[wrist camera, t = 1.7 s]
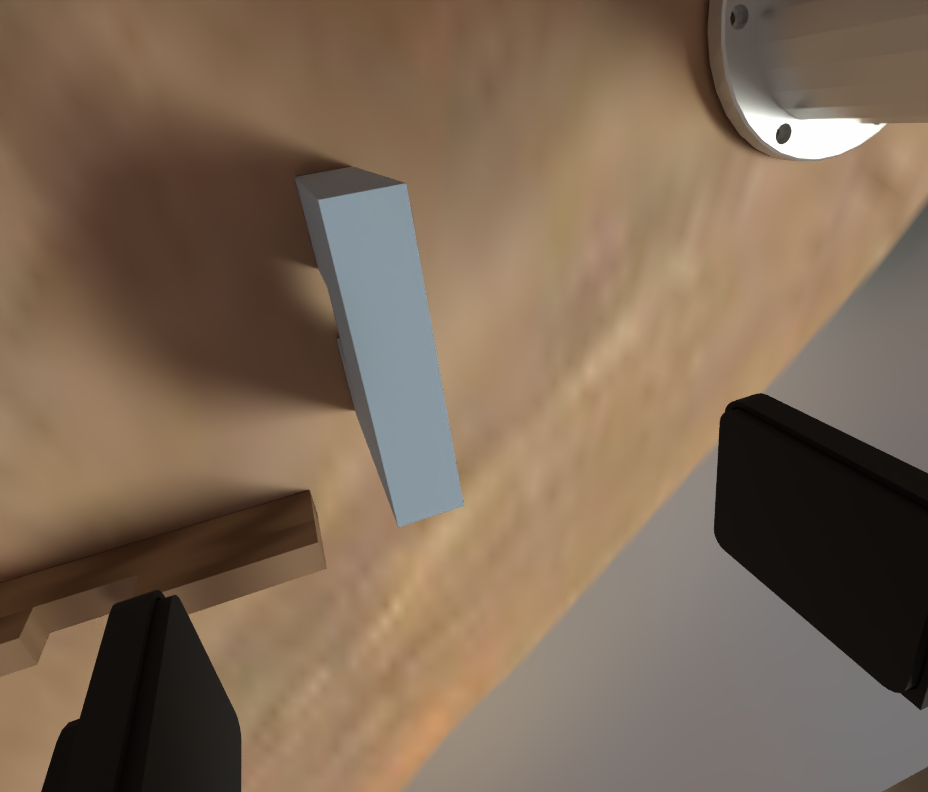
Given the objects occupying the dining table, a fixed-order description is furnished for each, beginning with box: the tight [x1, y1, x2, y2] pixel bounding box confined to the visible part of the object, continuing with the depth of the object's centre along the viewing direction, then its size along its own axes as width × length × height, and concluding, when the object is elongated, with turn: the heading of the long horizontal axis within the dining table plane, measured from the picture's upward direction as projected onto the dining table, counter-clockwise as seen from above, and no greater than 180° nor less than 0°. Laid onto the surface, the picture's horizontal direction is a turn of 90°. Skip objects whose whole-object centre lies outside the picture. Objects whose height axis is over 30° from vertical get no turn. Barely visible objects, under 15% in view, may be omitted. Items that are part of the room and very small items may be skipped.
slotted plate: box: [295, 167, 464, 527], centre depth 20 cm, size 10×2×9 cm, turn 8°
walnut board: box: [0, 490, 327, 677], centre depth 24 cm, size 18×1×4 cm, turn 98°
